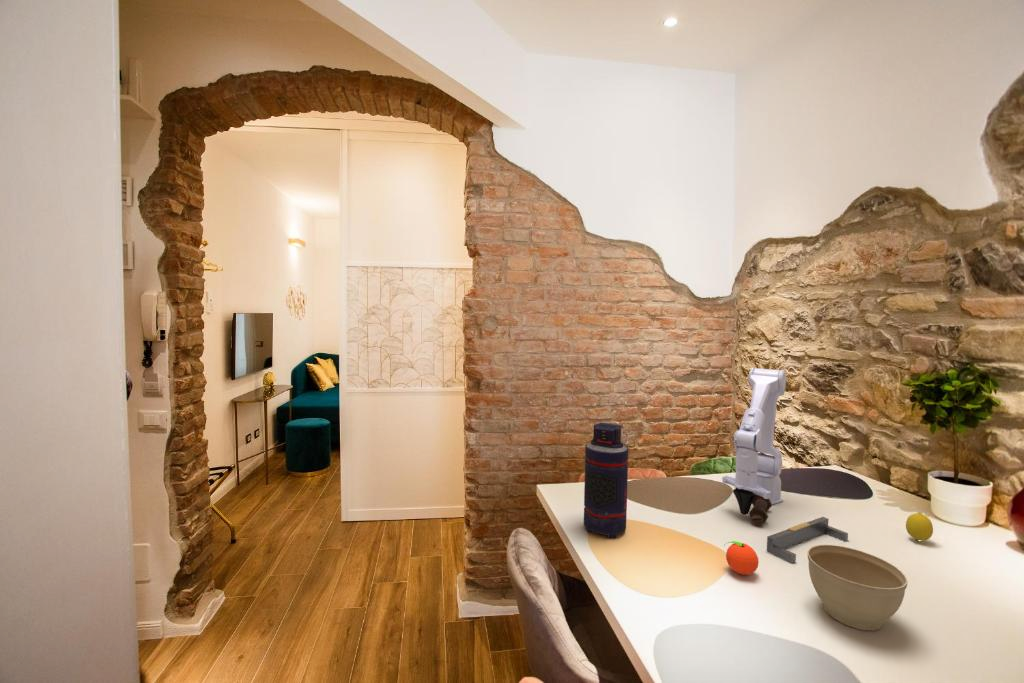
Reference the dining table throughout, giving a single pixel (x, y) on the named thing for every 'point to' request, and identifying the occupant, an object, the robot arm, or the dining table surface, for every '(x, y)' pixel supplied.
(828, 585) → the planter bowl
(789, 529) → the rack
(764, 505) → the bolt
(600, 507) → the grenade
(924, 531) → the lemon
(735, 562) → the orange-red round fruit
